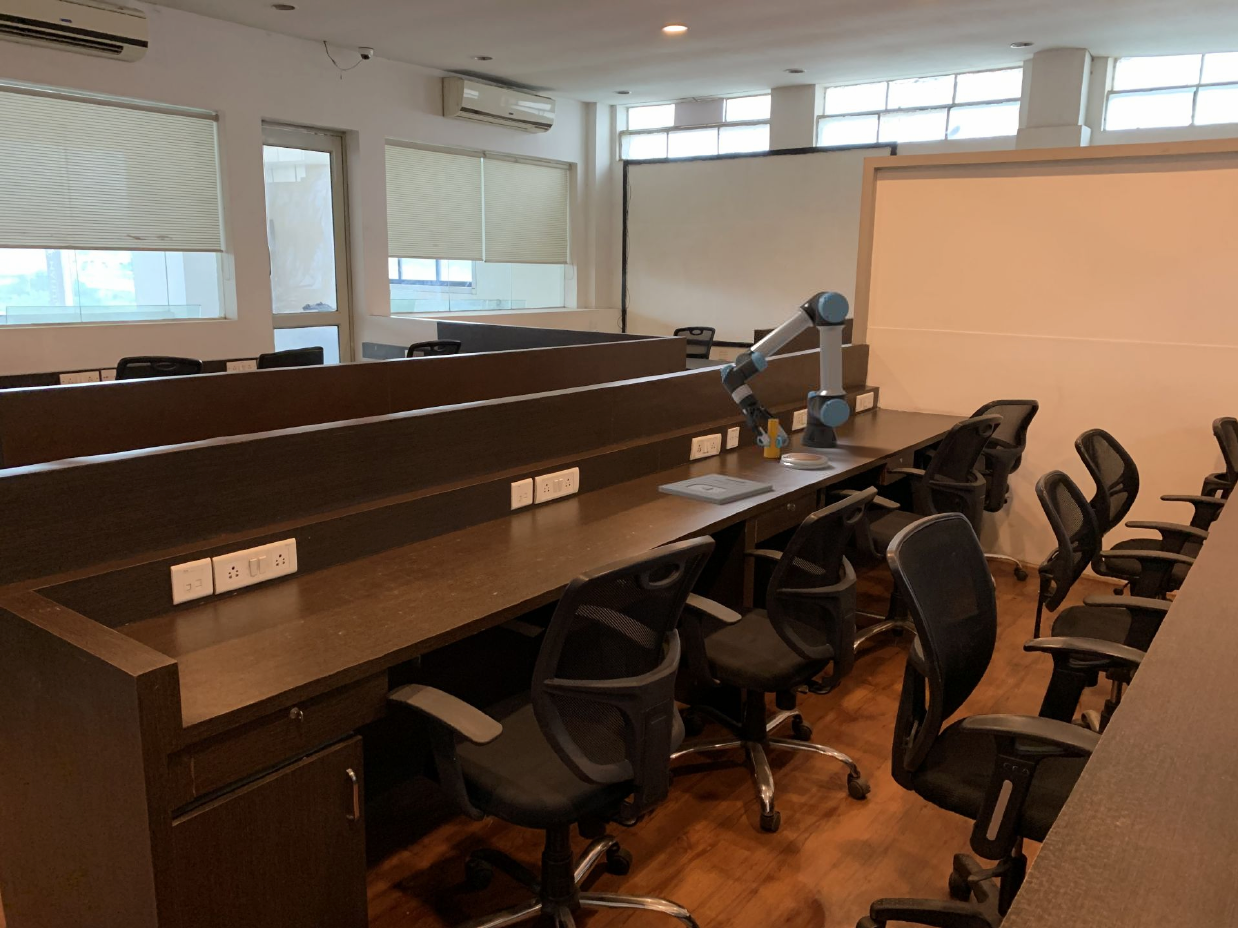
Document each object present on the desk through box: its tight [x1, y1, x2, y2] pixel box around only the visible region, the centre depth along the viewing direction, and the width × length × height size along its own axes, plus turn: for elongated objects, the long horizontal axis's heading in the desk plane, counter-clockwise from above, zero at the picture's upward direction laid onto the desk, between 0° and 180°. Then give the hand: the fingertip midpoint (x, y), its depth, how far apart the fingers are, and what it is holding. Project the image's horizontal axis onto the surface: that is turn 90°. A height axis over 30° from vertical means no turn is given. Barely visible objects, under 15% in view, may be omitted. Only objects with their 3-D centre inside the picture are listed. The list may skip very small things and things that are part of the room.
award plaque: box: [658, 473, 774, 505], centre depth 307 cm, size 25×30×2 cm
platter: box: [781, 452, 828, 466], centre depth 351 cm, size 17×17×2 cm
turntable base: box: [779, 458, 829, 471], centre depth 352 cm, size 18×18×2 cm
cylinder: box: [756, 418, 789, 459], centre depth 366 cm, size 12×10×15 cm
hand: (776, 440), depth 365 cm, fingers open, 13 cm apart
